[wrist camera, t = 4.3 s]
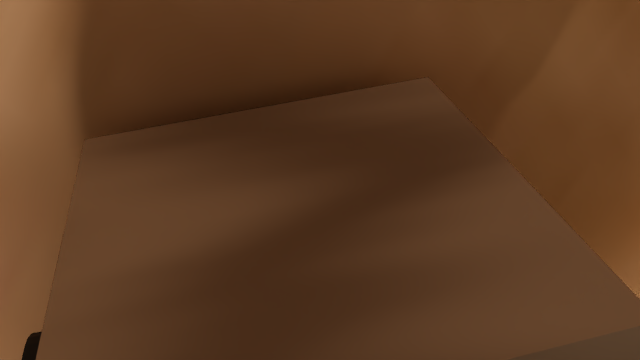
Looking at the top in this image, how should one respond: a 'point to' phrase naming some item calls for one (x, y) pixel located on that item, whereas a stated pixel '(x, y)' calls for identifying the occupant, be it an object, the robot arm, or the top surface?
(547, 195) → the top surface
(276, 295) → the walnut cube
